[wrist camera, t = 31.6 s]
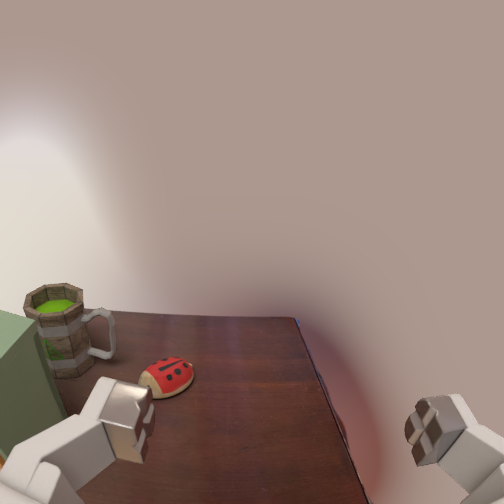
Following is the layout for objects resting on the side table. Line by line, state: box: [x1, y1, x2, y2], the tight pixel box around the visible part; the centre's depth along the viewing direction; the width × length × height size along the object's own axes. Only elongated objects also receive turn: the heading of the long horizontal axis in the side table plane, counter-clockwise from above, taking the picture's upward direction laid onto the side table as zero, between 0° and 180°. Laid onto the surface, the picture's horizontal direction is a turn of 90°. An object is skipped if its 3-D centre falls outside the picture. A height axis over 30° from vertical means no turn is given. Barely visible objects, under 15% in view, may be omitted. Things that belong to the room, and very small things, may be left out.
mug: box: [23, 283, 117, 379], centre depth 44 cm, size 16×11×12 cm
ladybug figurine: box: [138, 357, 194, 399], centre depth 45 cm, size 7×10×4 cm
